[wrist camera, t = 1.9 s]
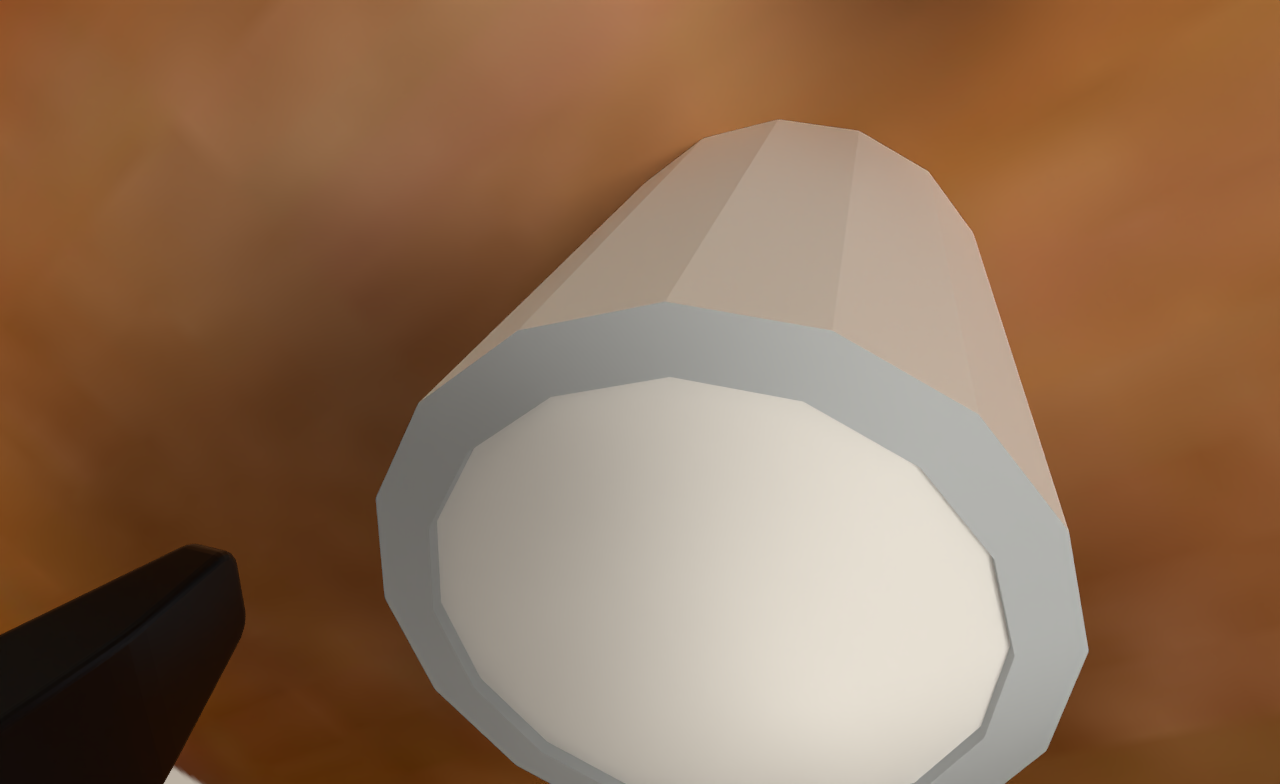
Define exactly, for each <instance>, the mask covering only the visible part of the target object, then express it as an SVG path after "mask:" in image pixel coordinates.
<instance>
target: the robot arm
mask: <svg viewBox="0 0 1280 784" xmlns="http://www.w3.org/2000/svg"><path fill="white" fill-rule="evenodd" d="M244 625H245V607H244V602H243V596H242V590H241V585H240V579H239V573H238V568H237V563H236V560H235V558H234V557H233V556H232V554H231V553H229V552H227V551H224V550H220V549H216V548H212V547H208V546H203V545H199V544H189V545H186V546H183V547H180V548H178V549H176V550H174V551H172V552H170V553H168V554H166V555H164V556H162V557H160V558H158V559H156V560H154V561H152V562H149V563H147V564H145V565H143V566H141V567H139V568H137V569H135V570H133V571H131V572H129V573H127V574H125V575H123V576H121V577H119V578H117V579H114V580H112V581H110V582H108V583H106V584H104V585H102V586H100V587H98V588H96V589H94V590H92V591H90V592H88V593H86V594H84V595H82V596H79V597H77V598H75V599H73V600H71V601H69V602H67V603H65V604H63V605H61V606H59V607H57V608H55V609H53V610H51V611H49V612H47V613H44V614H42V615H40V616H38V617H36V618H34V619H32V620H30V621H28V622H26V623H24V624H22V625H20V626H18V627H16V628H14V629H12V630H10V631H7V632H5V633H3V634H1V635H0V784H163V783H164V782H165V780H166V778H167V776H168V775H169V773H170V771H171V769H172V768H173V766H174V764H175V762H176V760H177V759H178V757H179V755H180V753H181V751H182V749H183V747H184V745H185V743H186V742H187V740H188V738H189V736H190V734H191V732H192V730H193V728H194V726H195V724H196V722H197V721H198V719H199V717H200V715H201V713H202V711H203V709H204V707H205V705H206V703H207V701H208V699H209V698H210V696H211V694H212V692H213V690H214V688H215V686H216V684H217V682H218V680H219V678H220V677H221V675H222V673H223V671H224V669H225V667H226V665H227V663H228V661H229V659H230V657H231V656H232V654H233V652H234V650H235V648H236V646H237V644H238V642H239V640H240V638H241V635H242V632H243V629H244Z"/></svg>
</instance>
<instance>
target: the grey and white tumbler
mask: <svg viewBox="0 0 1280 784" xmlns="http://www.w3.org/2000/svg"><path fill="white" fill-rule="evenodd" d="M376 507H377V518H378V529H379V541H380V552H381V563H382V574H383V585H384V596H385V599H386V601H387V603H388V605H389V607H390V609H391V610H392V612H393V614H394V616H395V618H396V619H397V621H398V623H399V625H400V627H401V629H402V630H403V632H404V634H405V636H406V638H407V639H408V641H409V643H410V645H411V647H412V649H413V650H414V652H415V654H416V656H417V658H418V659H419V661H420V663H421V665H422V667H423V669H424V670H425V672H426V674H427V676H428V678H429V679H430V681H431V683H432V685H433V687H434V689H435V690H436V691H437V692H438V693H439V694H440V695H441V696H443V697H444V698H445V699H446V700H447V701H448V702H449V703H450V704H451V705H452V706H453V707H454V708H455V709H456V710H458V711H459V712H460V713H461V714H462V715H463V716H464V717H465V718H466V719H467V720H468V721H469V722H470V723H471V724H473V725H474V726H475V727H476V728H477V729H478V730H479V731H480V732H481V733H482V734H483V735H484V736H485V737H486V738H488V739H489V740H490V741H491V742H492V743H493V744H494V745H495V746H496V747H497V748H498V749H499V750H500V751H501V752H503V753H504V754H505V755H506V756H507V757H508V758H509V759H510V760H511V761H512V762H513V763H514V764H515V765H517V766H519V767H520V768H522V769H524V770H526V771H528V772H530V773H532V774H533V775H535V776H537V777H539V778H541V779H543V780H545V781H547V782H548V783H550V784H1005V783H1006V782H1007V781H1008V780H1010V779H1011V778H1012V777H1014V776H1015V775H1016V774H1017V773H1019V772H1020V771H1021V770H1022V769H1024V768H1025V767H1026V766H1028V765H1029V764H1030V763H1031V762H1033V761H1034V760H1035V759H1036V758H1038V757H1039V756H1040V755H1042V754H1043V753H1044V752H1045V751H1046V750H1047V748H1048V746H1049V743H1050V741H1051V739H1052V736H1053V734H1054V732H1055V729H1056V727H1057V725H1058V722H1059V720H1060V718H1061V715H1062V713H1063V710H1064V708H1065V706H1066V703H1067V701H1068V699H1069V696H1070V694H1071V692H1072V689H1073V687H1074V685H1075V682H1076V680H1077V677H1078V675H1079V673H1080V670H1081V668H1082V666H1083V663H1084V661H1085V659H1086V656H1087V654H1088V652H1089V650H1088V644H1087V638H1086V632H1085V626H1084V620H1083V614H1082V608H1081V602H1080V596H1079V590H1078V584H1077V578H1076V572H1075V566H1074V560H1073V554H1072V547H1071V541H1070V535H1069V530H1068V527H1067V524H1066V521H1065V518H1064V515H1063V512H1062V508H1061V505H1060V502H1059V499H1058V496H1057V493H1056V490H1055V487H1054V483H1053V480H1052V477H1051V474H1050V471H1049V468H1048V465H1047V462H1046V459H1045V455H1044V452H1043V449H1042V446H1041V443H1040V440H1039V437H1038V434H1037V430H1036V427H1035V424H1034V421H1033V418H1032V415H1031V412H1030V409H1029V405H1028V402H1027V399H1026V396H1025V393H1024V390H1023V387H1022V384H1021V381H1020V377H1019V374H1018V371H1017V368H1016V365H1015V362H1014V359H1013V356H1012V352H1011V349H1010V346H1009V343H1008V340H1007V337H1006V334H1005V331H1004V328H1003V324H1002V321H1001V318H1000V315H999V312H998V309H997V306H996V303H995V299H994V296H993V293H992V290H991V287H990V284H989V281H988V278H987V274H986V271H985V268H984V265H983V262H982V259H981V256H980V253H979V250H978V246H977V243H976V240H975V237H974V234H973V232H972V231H971V229H970V228H969V227H968V225H967V224H966V222H965V221H964V220H963V218H962V217H961V216H960V214H959V213H958V211H957V210H956V209H955V207H954V206H953V205H952V203H951V202H950V200H949V199H948V198H947V196H946V195H945V194H944V192H943V191H942V189H941V188H940V187H939V185H938V184H937V183H936V181H935V180H934V178H933V177H932V176H931V174H930V173H929V171H927V170H925V169H923V168H922V167H920V166H918V165H917V164H915V163H913V162H912V161H910V160H908V159H906V158H905V157H903V156H901V155H900V154H898V153H896V152H894V151H893V150H891V149H889V148H888V147H886V146H884V145H883V144H881V143H879V142H877V141H876V140H874V139H872V138H871V137H869V136H867V135H865V134H864V133H862V132H860V131H858V130H851V129H844V128H836V127H829V126H822V125H815V124H808V123H801V122H794V121H787V120H780V119H778V120H774V121H770V122H766V123H762V124H758V125H754V126H750V127H746V128H742V129H738V130H734V131H730V132H726V133H722V134H718V135H714V136H710V137H706V138H703V139H701V140H700V141H699V142H697V143H696V144H695V145H694V146H692V147H691V148H690V149H688V150H687V151H686V152H684V153H683V154H682V155H680V156H679V157H678V158H677V159H675V160H674V161H673V162H671V163H670V164H669V165H667V166H666V167H665V168H663V169H662V170H661V171H660V172H658V173H657V174H656V175H654V176H653V177H652V178H650V179H649V180H648V181H646V182H645V183H644V184H643V185H642V186H641V187H640V188H639V189H638V190H637V191H636V192H635V193H634V194H633V195H632V196H631V197H630V198H629V199H628V200H627V201H626V202H625V203H624V204H623V205H622V206H621V207H620V208H618V209H617V210H616V211H615V212H614V213H613V214H612V215H611V216H610V217H609V218H608V219H607V220H606V221H605V222H604V223H603V224H602V225H601V226H600V227H599V228H598V229H597V230H596V231H595V232H594V233H593V234H592V235H591V236H590V237H589V238H588V239H587V240H586V241H585V242H584V243H582V244H581V245H580V246H579V247H578V248H577V249H576V250H575V251H574V252H573V253H572V254H571V255H570V256H569V257H568V258H567V259H566V260H565V261H564V262H563V263H562V264H561V265H560V266H559V267H558V268H557V269H556V270H555V271H554V272H553V273H552V274H551V275H550V276H549V277H548V278H546V279H545V280H544V281H543V282H542V283H541V284H540V285H539V286H538V287H537V288H536V289H535V290H534V291H533V292H532V293H531V294H530V295H529V296H528V297H527V298H526V299H525V300H524V301H523V302H522V303H521V304H520V305H519V306H518V307H517V308H516V309H515V310H514V311H513V312H511V313H510V314H509V315H508V316H507V317H506V318H505V319H504V320H503V321H502V322H501V323H500V324H499V325H498V326H497V327H496V328H495V329H494V330H493V331H492V332H491V333H490V334H489V335H488V336H487V337H486V338H485V339H484V340H483V341H482V342H481V343H480V344H479V345H478V346H477V347H475V348H474V349H473V350H472V351H471V352H470V353H469V354H468V355H467V356H466V357H465V358H464V359H463V360H462V361H461V362H460V363H459V364H458V365H457V366H456V367H455V368H454V369H453V370H452V371H451V372H450V373H449V374H448V375H447V376H446V377H445V378H444V379H443V380H442V381H441V382H439V383H438V384H437V385H436V386H435V387H434V388H433V389H432V390H431V391H430V392H429V393H428V394H427V395H426V396H425V397H424V398H423V399H422V400H421V401H420V402H419V403H418V405H417V407H416V410H415V412H414V414H413V416H412V418H411V421H410V423H409V425H408V427H407V430H406V432H405V434H404V436H403V438H402V441H401V443H400V445H399V447H398V450H397V452H396V454H395V456H394V459H393V461H392V463H391V465H390V467H389V470H388V472H387V474H386V476H385V479H384V481H383V483H382V485H381V487H380V490H379V492H378V494H377V496H376Z"/></svg>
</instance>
